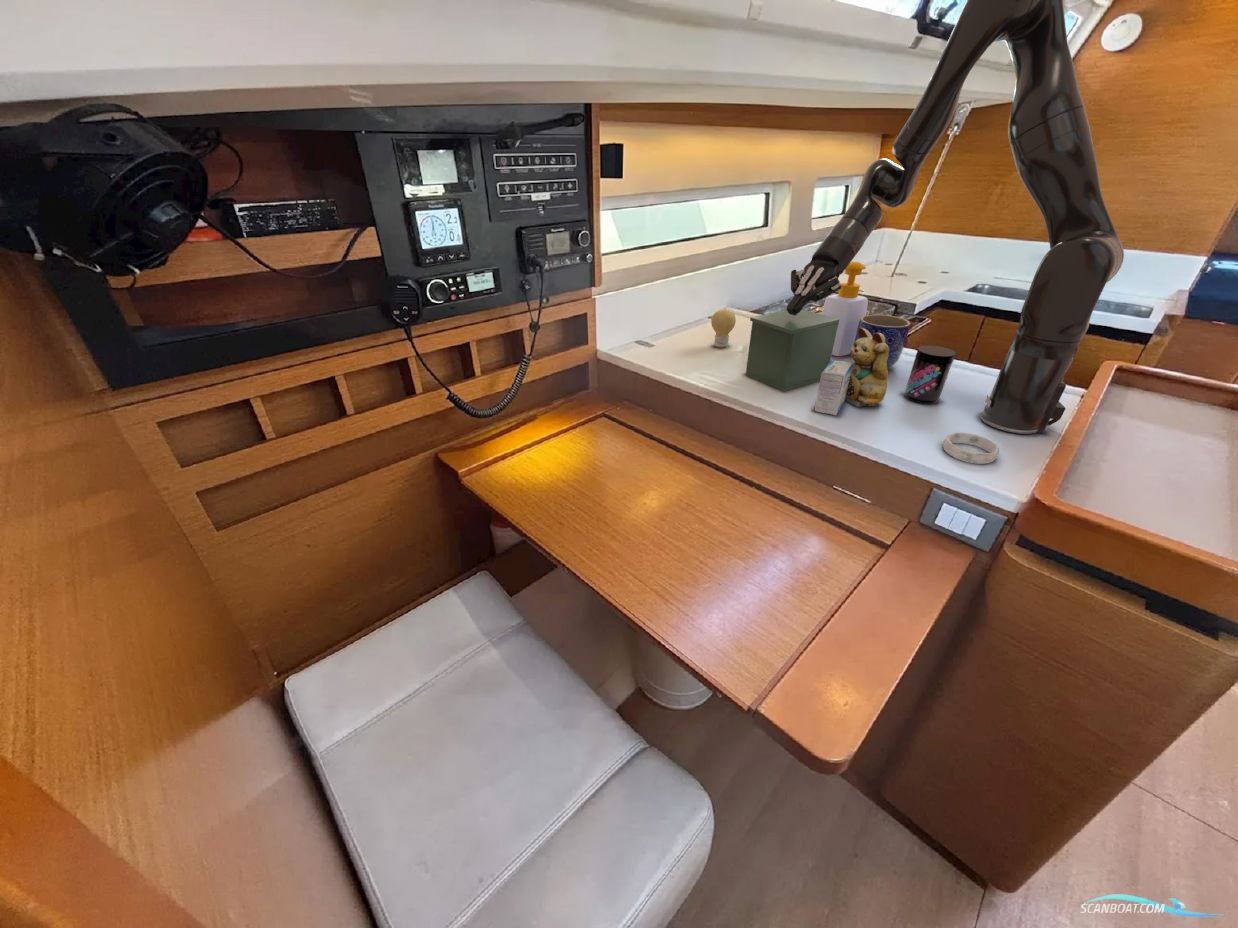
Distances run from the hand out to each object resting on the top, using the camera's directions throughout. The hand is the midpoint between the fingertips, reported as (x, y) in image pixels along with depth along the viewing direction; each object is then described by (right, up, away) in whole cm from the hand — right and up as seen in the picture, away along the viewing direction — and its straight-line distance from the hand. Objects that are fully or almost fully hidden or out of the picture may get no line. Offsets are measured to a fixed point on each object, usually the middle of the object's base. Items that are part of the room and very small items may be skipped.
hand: (790, 312), depth 108 cm
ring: (+23, -31, -22) cm, 45 cm away
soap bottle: (+19, -2, +26) cm, 33 cm away
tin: (+2, -12, +9) cm, 15 cm away
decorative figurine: (+14, -20, -3) cm, 24 cm away
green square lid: (+1, -1, +2) cm, 3 cm away
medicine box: (+6, -21, -5) cm, 23 cm away
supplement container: (+27, -19, -2) cm, 33 cm away
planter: (+25, -9, +15) cm, 31 cm away
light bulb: (-9, -1, +29) cm, 30 cm away
